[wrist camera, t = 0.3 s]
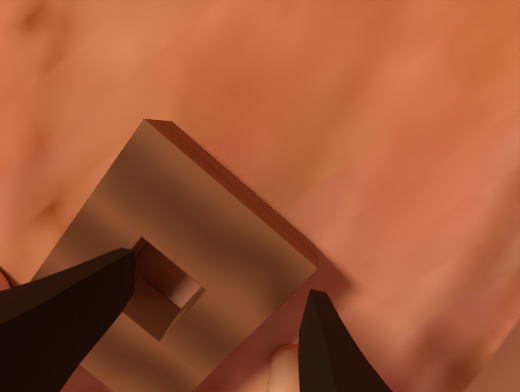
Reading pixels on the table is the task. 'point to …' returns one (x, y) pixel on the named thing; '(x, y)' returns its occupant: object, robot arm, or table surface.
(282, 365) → the cream peg
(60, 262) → the walnut holder
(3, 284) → the milk bottle
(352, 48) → the table surface
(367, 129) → the table surface
